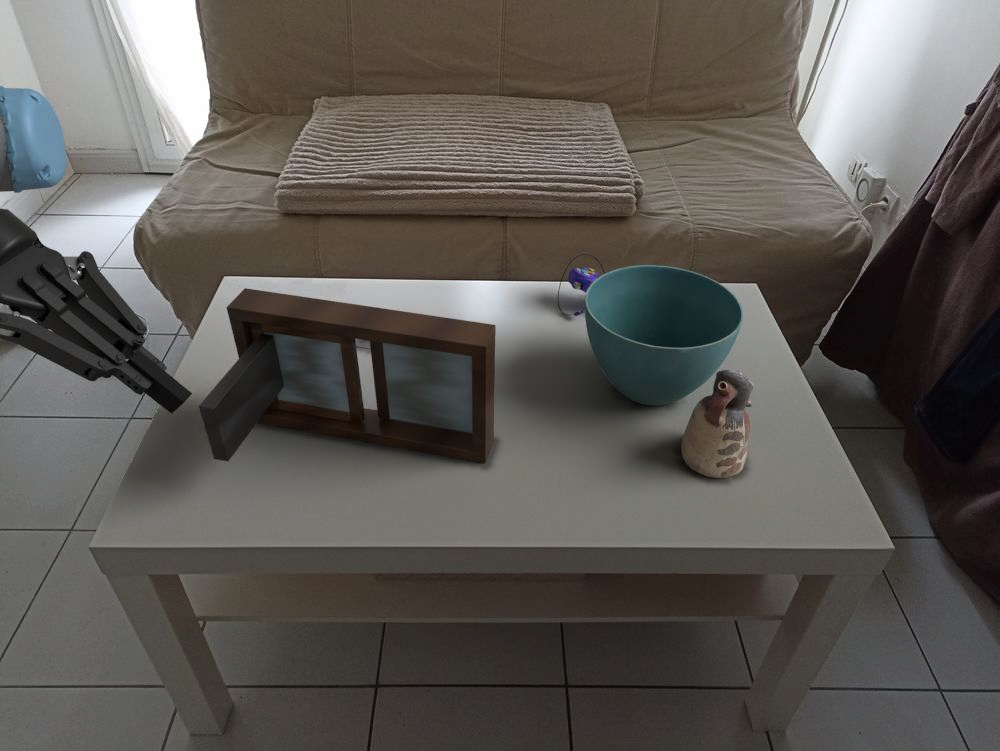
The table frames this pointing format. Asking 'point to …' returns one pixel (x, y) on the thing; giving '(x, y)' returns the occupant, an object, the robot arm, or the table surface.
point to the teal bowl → (660, 330)
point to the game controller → (581, 280)
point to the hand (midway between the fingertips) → (181, 403)
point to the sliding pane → (283, 384)
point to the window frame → (393, 372)
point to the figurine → (720, 428)
